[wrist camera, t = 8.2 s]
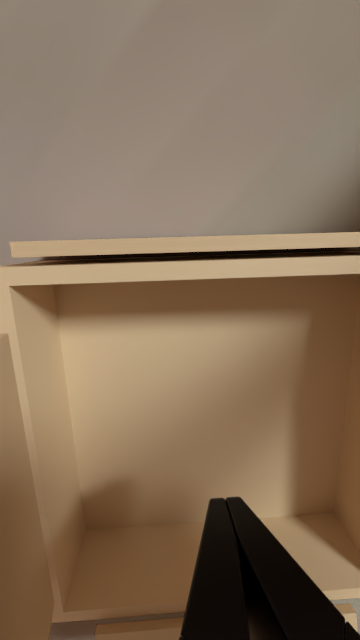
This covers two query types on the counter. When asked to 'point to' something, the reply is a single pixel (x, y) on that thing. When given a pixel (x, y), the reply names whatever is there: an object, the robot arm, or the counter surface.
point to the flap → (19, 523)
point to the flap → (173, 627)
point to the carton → (186, 408)
